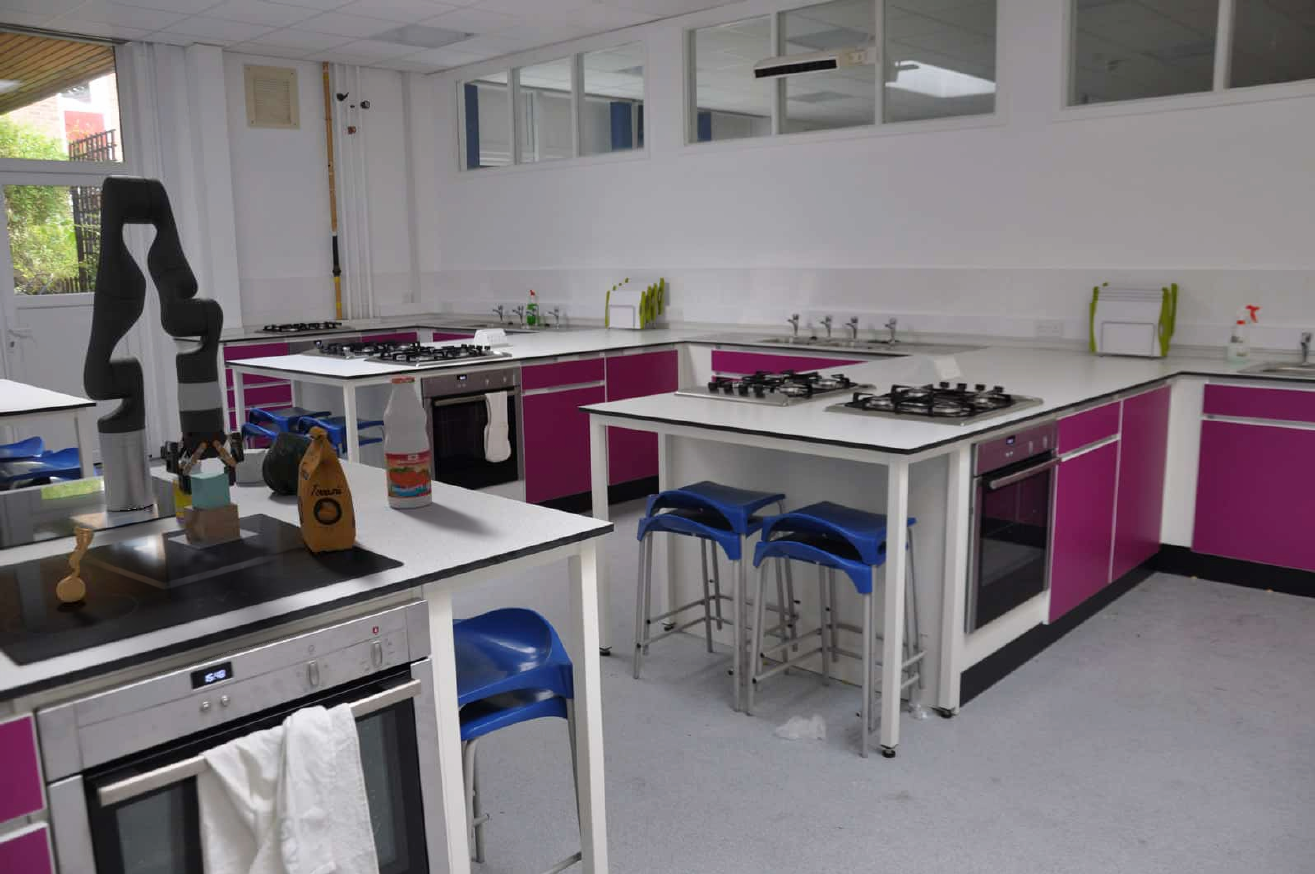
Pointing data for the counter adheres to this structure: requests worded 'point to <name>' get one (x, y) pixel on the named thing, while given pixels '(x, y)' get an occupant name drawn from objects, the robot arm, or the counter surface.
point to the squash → (284, 462)
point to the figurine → (73, 586)
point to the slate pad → (200, 545)
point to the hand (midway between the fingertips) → (208, 490)
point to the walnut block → (211, 523)
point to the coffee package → (324, 497)
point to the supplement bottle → (179, 497)
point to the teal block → (210, 490)
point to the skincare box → (250, 466)
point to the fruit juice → (406, 447)
